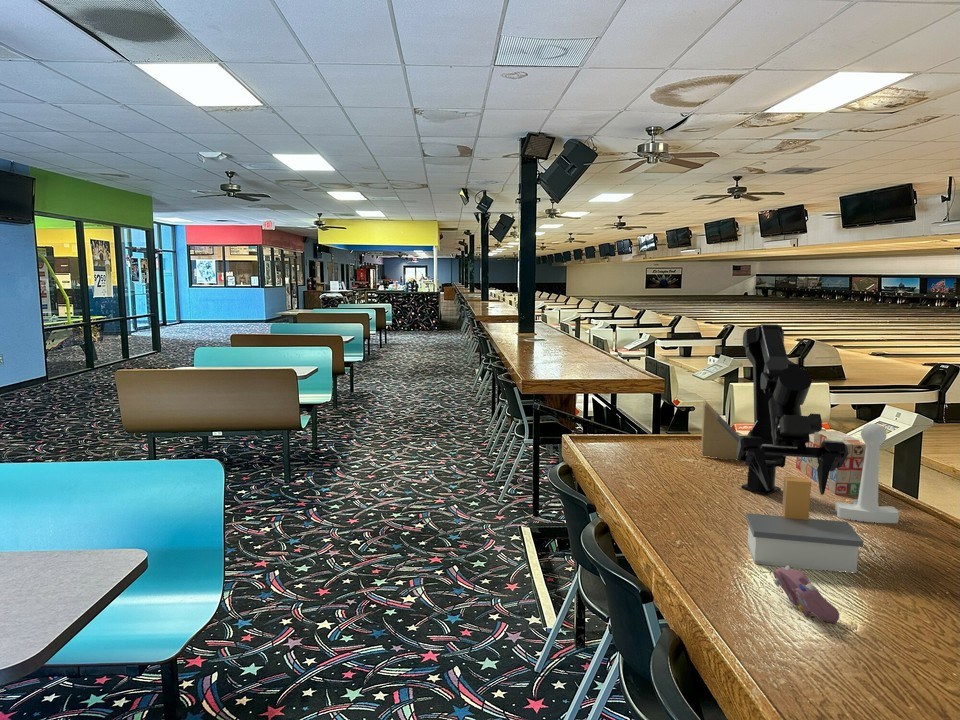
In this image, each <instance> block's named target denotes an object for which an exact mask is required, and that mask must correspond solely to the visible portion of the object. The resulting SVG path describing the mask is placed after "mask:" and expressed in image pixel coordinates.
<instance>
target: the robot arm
mask: <svg viewBox="0 0 960 720" xmlns="http://www.w3.org/2000/svg"><path fill="white" fill-rule="evenodd" d="M742 346H743V347H744V349H745V356H746V358H747V360H748V361H749V362H750V364H752V376H753V377H752V378H753V379H752V380H753V382H752V383H753V417H754V419H753V421H754V422H753V423H754V424H753V425H752V427H751V428H750V430H749V431H748V433H747V435H742V436H740V437H741V438H740V439H739V443H738V447H737V460H736V461H738V462H740V463H743V464H744V465H745V466H747V467H748V469H747V470H748V471H747V480H746V481H747V482H746V483H745V484H742V485H740V488H741V489H744V490H747V491H751V492H755V493H757V494H761V495H767V496H768V495H771V494H773V493H776V492H779V491H781V489H782V488H781V487H779V486H776V472H777V471H776V469H777V468H784V467H785V466H786V458H787V457H793V458H795V457H796V458H797V457H806V458H817V461H818V464H819V466H818V468H817V472H818V482H819V483H818V482H817V483H818V490H819V492H820V495H821V496H823V495H824V494H825V492H826V484H827V480H828V476H829V472H830V471H834V470H835V469H836V468H840V467H842V465H843V463H844V461H845V459H846V457H847V456H848V454H849V453H848V448H847V446H846V444H845V443H843V442H838V441H823V442H822V444H821V446H820V448H816V447H806V443H808V442H809V440H810V438H809V434H813V433H815V432H819V431H823V430H822V429H823V420H822V416H821V413H809V414H808V415H802V408H801V406H802V405H804V403H805V401H806V398H807V396H808V392H809V389H810V387H811V385H812V382H813V379H812V376H811V375H810V374H809V373H808V372H807V371H805V370H804V369H802V368H800V367H799V363H795V362H793V361H791V360H789V358H788V354H787V350H786V347H785V331H784V329H783V327H782V325H779V324H772V323H771V324H768V323H767V324H765V323H761V324H759V325H757V326H756V327H752V328H750V327H749V328H746V330H745V331H744V333H743V335H742Z"/></svg>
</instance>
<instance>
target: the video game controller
mask: <svg viewBox="0 0 960 720" xmlns="http://www.w3.org/2000/svg"><path fill="white" fill-rule="evenodd" d="M772 574H773V577H774V579H773V583H774V584H775V586H776V587H778V588H781V589H782V590H783V592H784V593H785V594H786V596H787V598H788V599H789V601H790V602H791V603H792V604H793V605H796V604H797V606H798V609H799V611H800V612H802V613H803V614H804V615H805V616H808V615H811V613H812V615H814V616H816V617H817V618H818V619H821V620H822V621H824V622H827V623H833V624H834V623H837V622H838V621H839V620H840V613H839V610H838V609H837V608H836V607H835V606H834V605H833V604H831V603H830V601H828V600H826V598H825V597H824V596H823V595H822V593H820V591H819V590H818V589H817V588H816V586H815V585H813V584H812V583H811V581H810V580H809V578H808V576H807V575H805V573H803V572H801V571H799V570H797V569H795V568H794V569H793V568H792V567H789V566H788V565H787V566H786V567H783V566H780V567H779V568H777V569H775V570H773V571H772Z"/></svg>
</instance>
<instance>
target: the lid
mask: <svg viewBox="0 0 960 720" xmlns="http://www.w3.org/2000/svg"><path fill="white" fill-rule="evenodd" d="M811 490H812V481H811V480H810V479H809V478H808V477H795V476H794V477H793V476H783V489H782V503H781V504H782V506H781V507H782V508H781V515H772V514H761V513H750V512H747V513H745V520H746V522H747V525H748V527H750V530H751V532H752V534H753V537H759V538H770V539H781V540H792V541H802V542H813V543H824V544H835V545H845V546H856V547H859V548H864V540H863V538H861V536H860V535H859V534H858V533H857V532H856V530H854V527H852V526H851V524H849V522H848V521H843V520H833V519H832V520H831V519H818V518H810V509H811V508H810V507H811V506H810V505H811V504H810V503H811V495H812V494H811V492H812V491H811Z"/></svg>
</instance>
